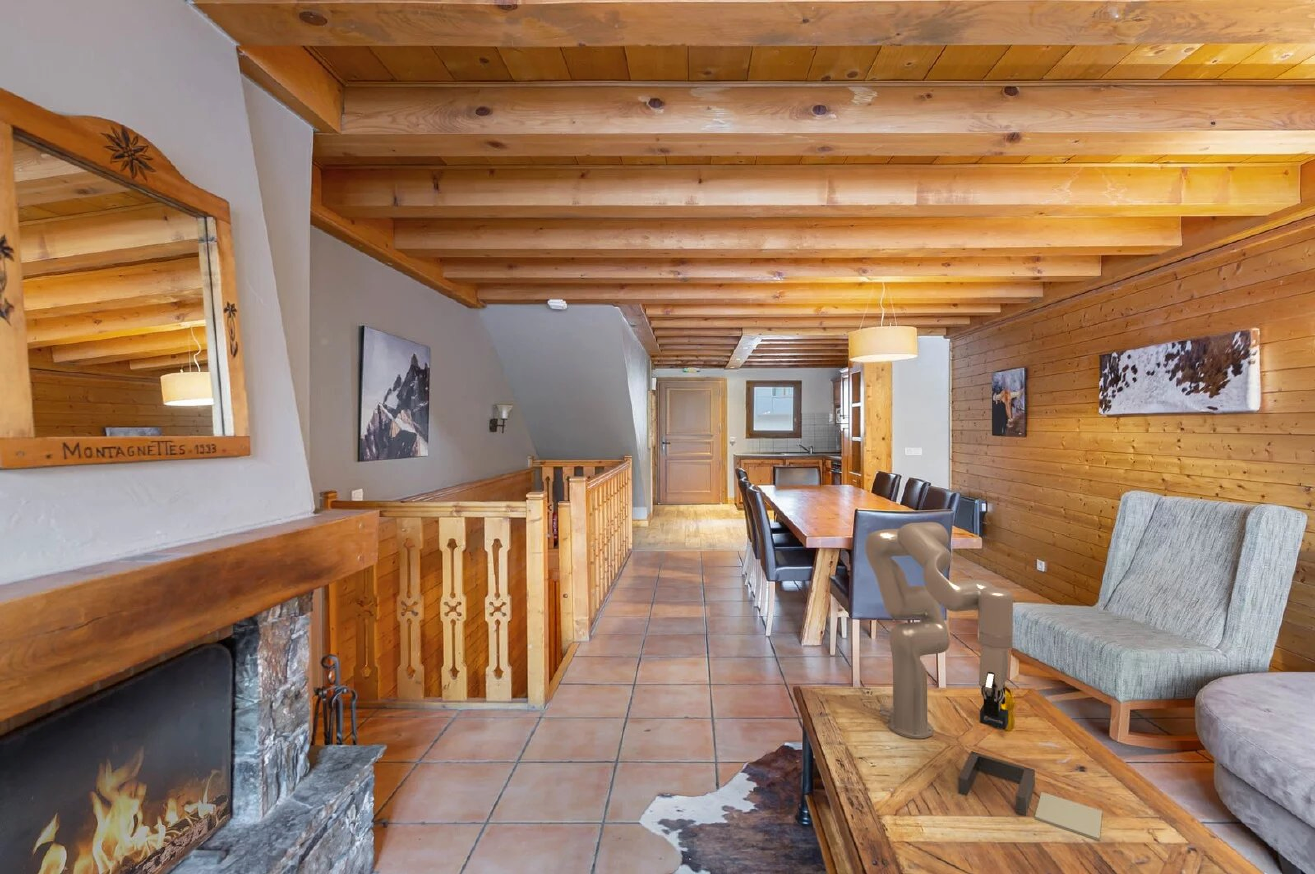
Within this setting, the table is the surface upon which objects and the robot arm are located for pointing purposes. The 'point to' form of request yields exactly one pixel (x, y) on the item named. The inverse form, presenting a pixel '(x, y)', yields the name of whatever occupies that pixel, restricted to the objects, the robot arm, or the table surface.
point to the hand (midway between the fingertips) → (994, 708)
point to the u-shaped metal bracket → (999, 770)
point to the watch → (1003, 714)
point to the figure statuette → (1009, 708)
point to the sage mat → (1069, 815)
